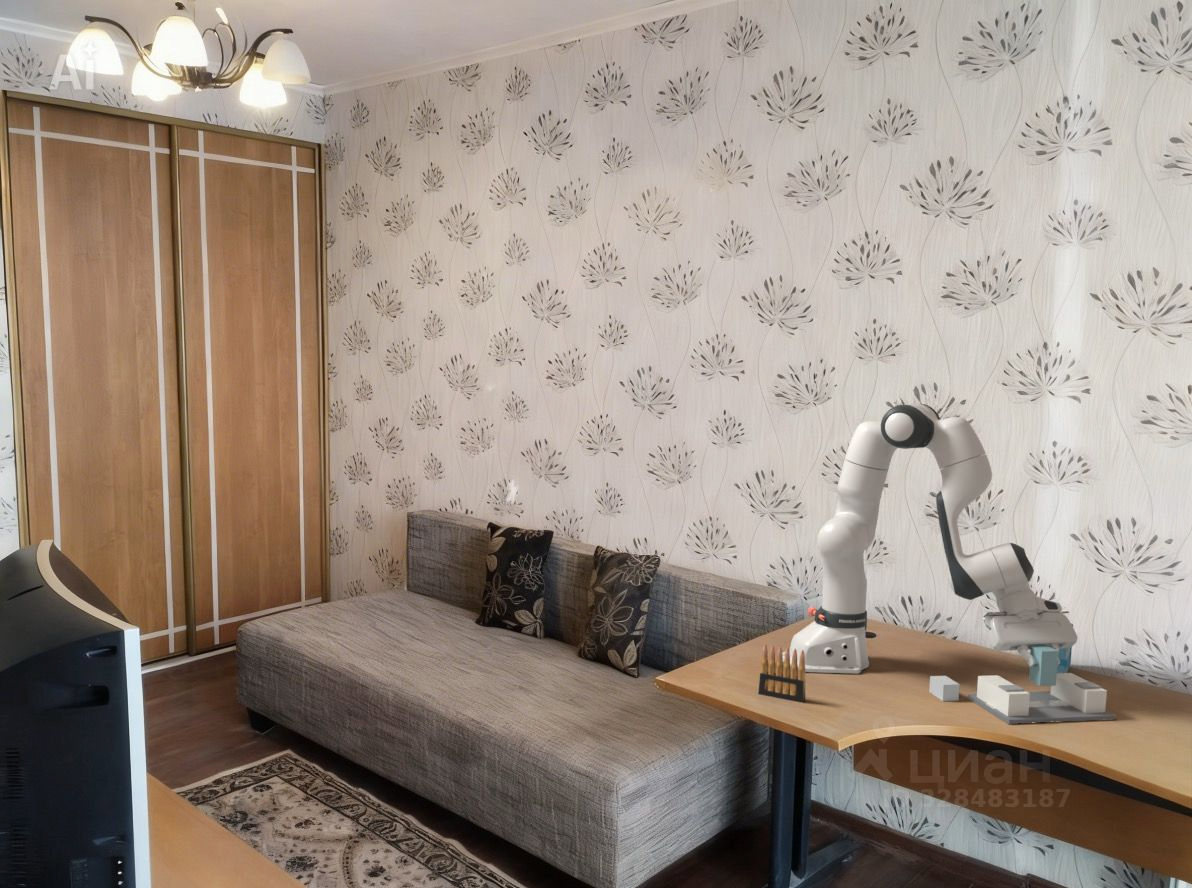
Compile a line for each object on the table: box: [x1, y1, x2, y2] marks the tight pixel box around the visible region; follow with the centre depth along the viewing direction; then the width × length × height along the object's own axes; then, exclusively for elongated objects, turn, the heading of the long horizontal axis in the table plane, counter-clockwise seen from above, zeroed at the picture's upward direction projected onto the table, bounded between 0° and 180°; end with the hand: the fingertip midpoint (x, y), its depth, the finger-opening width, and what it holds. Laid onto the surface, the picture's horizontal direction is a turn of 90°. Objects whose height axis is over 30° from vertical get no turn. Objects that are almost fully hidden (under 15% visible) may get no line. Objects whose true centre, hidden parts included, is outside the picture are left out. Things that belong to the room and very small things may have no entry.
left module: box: [976, 675, 1030, 716], centre depth 210 cm, size 5×12×5 cm, turn 10°
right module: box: [1050, 672, 1108, 713], centre depth 213 cm, size 5×12×5 cm, turn 9°
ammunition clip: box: [757, 643, 806, 703], centre depth 214 cm, size 11×2×12 cm, turn 62°
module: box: [1028, 646, 1058, 687], centre depth 211 cm, size 4×4×8 cm
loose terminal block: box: [928, 675, 960, 702], centre depth 218 cm, size 4×6×4 cm, turn 10°
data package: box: [1057, 623, 1074, 673], centre depth 238 cm, size 12×4×12 cm, turn 146°
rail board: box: [967, 690, 1116, 725], centre depth 212 cm, size 26×16×1 cm, turn 100°
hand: (1045, 665), depth 210 cm, fingers closed on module, 4 cm apart
